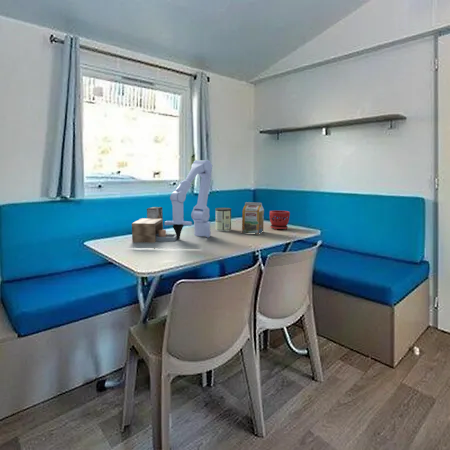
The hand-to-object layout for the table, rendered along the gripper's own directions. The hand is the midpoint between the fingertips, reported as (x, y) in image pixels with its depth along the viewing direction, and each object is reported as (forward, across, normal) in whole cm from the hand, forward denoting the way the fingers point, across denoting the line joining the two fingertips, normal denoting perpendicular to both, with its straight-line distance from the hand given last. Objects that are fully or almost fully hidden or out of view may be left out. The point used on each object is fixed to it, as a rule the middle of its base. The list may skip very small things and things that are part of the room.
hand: (178, 238), depth 186 cm
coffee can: (+2, +22, +37) cm, 43 cm away
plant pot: (+2, +60, +45) cm, 75 cm away
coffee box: (+2, -18, +19) cm, 26 cm away
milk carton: (+2, +42, +29) cm, 51 cm away
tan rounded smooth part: (+1, -9, 0) cm, 9 cm away
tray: (+2, -7, 0) cm, 7 cm away
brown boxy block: (+2, -17, 0) cm, 17 cm away
